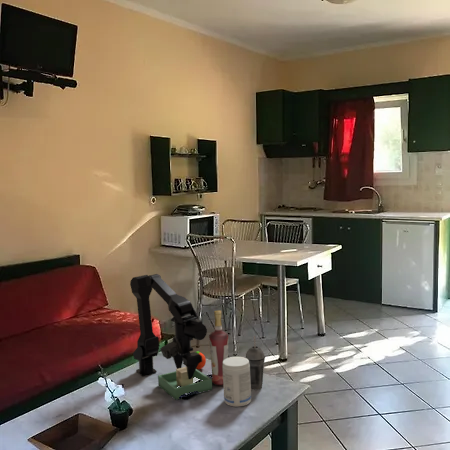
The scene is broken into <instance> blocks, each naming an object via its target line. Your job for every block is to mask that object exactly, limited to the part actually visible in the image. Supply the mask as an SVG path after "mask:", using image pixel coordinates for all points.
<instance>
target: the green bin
mask: <svg viewBox="0 0 450 450" xmlns="http://www.w3.org/2000/svg"><path fill="white" fill-rule="evenodd" d="M194 377H196V378H198V379H201V380H203V381H200V382H197V383H193V384H189V385H185V386H182V387H178V385H177V380H176V370H175V371H170V372H167V373H163V374H159V375H157V382H158V383H157V384H158V387H159V388H161V389H162V390H163V391H164V392H165V393H167V395H169V396H170V397H171V398H172V397H173V398H172V399H173V400H175V401H177V399H178V400H180V399H179V397H180V396H181V395H183V394H185V393H189V392H194V391H198V392H203V391H206V392H209V391H208V390H210V391H212V390H213V382H212V378H210V377H209V376H208V375H206V374H204V373H203V372H201V371H200V370H199V369H198V370H197V369H196V370H195V372H194V374H193V378H194ZM177 387H178V388H177ZM203 393H204V392H203Z"/></svg>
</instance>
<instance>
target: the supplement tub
mask: <svg viewBox="0 0 450 450" xmlns="http://www.w3.org/2000/svg"><path fill="white" fill-rule="evenodd" d="M222 386H223V401H224V403H225V404H227V405H228V406H230V407H233V408H234V407H236V408H237V407H243V406H247V405H248V404H249V403H251V401H252V389H251V381H250V364H249V360H248V359H247V358H245V357H244V356H230V357H229V356H228V358H226V359H225V360H223V385H222Z"/></svg>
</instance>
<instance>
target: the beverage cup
mask: <svg viewBox="0 0 450 450" xmlns="http://www.w3.org/2000/svg"><path fill="white" fill-rule="evenodd" d="M244 358H247V359H248V360H249V364H250V381H251V390H253V391H259V390H261V389H262V388H263V384H264V383H263V381H264V365H265V359H266V356H265V352H264V350H263V348H261V347H260V346H258V345H257V344H256V336H255V335H253V346H251V347H248V349H247V350H246V353H245V357H244Z"/></svg>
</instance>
